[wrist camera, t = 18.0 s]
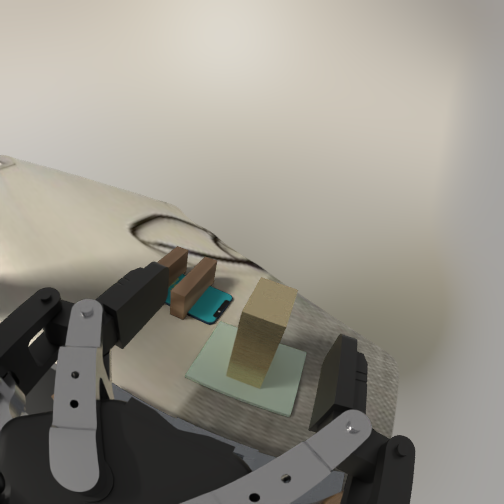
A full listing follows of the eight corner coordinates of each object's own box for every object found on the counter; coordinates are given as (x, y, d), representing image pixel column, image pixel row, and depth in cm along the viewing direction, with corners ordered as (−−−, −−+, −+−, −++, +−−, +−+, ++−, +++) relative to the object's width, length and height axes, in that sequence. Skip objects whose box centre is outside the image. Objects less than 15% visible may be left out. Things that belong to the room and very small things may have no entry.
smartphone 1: (98, 386, 24) (96, 383, 23) (68, 446, 16) (65, 443, 16) (9, 337, 24) (7, 333, 23) (-23, 379, 16) (-26, 375, 16)
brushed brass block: (225, 375, 29) (242, 311, 24) (243, 341, 34) (261, 277, 29) (259, 388, 28) (286, 327, 23) (273, 352, 33) (298, 290, 28)
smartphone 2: (154, 259, 45) (234, 295, 41) (154, 263, 45) (233, 299, 42) (125, 281, 39) (212, 324, 35) (125, 285, 39) (211, 328, 36)
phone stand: (140, 299, 36) (139, 276, 35) (175, 267, 45) (177, 246, 43) (183, 319, 35) (184, 296, 33) (213, 282, 44) (217, 260, 42)
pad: (185, 377, 28) (185, 374, 27) (219, 323, 36) (220, 321, 36) (288, 417, 26) (290, 415, 25) (305, 354, 34) (306, 352, 34)
